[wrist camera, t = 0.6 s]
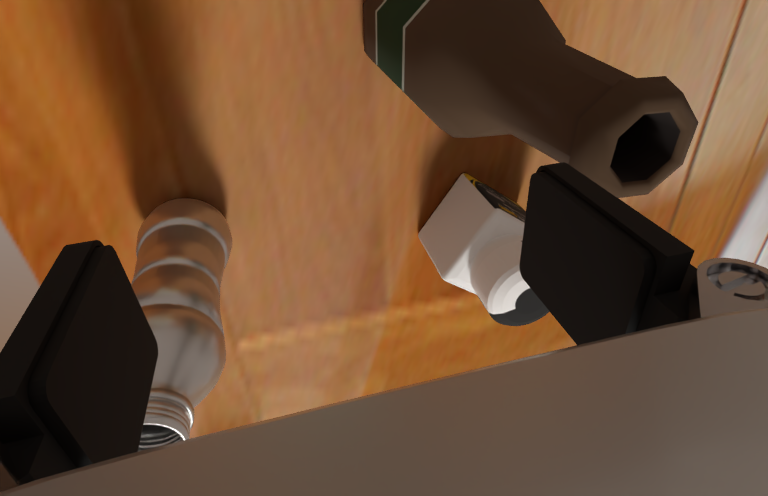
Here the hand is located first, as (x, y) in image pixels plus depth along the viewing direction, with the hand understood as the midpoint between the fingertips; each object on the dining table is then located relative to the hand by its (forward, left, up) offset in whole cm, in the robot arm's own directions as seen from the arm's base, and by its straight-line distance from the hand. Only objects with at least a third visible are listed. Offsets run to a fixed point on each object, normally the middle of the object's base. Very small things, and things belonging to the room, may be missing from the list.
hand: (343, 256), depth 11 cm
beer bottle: (-7, +6, -26) cm, 28 cm away
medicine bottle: (+2, +21, -26) cm, 34 cm away
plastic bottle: (+15, +1, -26) cm, 30 cm away
